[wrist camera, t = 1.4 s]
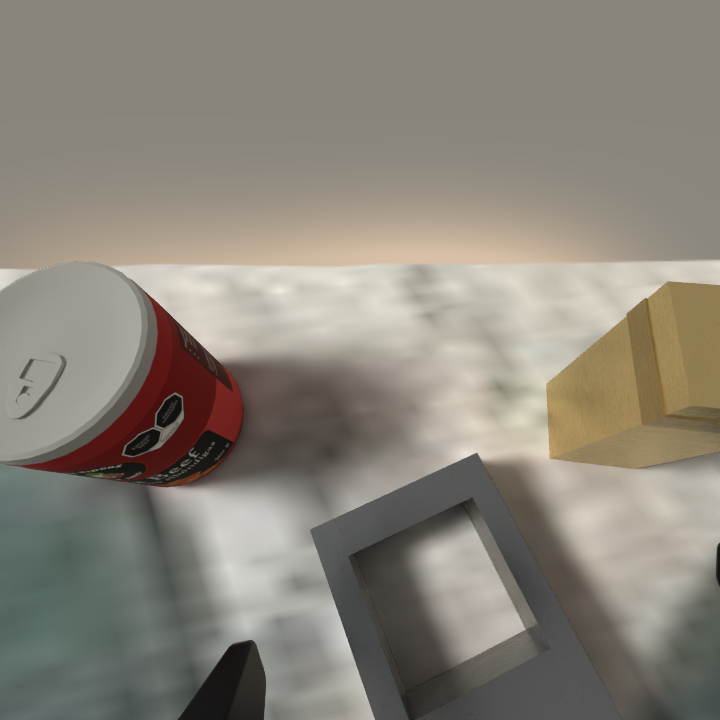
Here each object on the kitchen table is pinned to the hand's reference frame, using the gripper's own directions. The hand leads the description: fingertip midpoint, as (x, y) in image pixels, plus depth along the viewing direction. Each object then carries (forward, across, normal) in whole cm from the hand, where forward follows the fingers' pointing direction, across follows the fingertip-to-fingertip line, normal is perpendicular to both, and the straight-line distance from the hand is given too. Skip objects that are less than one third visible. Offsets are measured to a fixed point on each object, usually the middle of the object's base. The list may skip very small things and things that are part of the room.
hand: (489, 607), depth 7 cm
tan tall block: (+14, -11, +5) cm, 19 cm away
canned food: (+17, +13, +1) cm, 21 cm away
